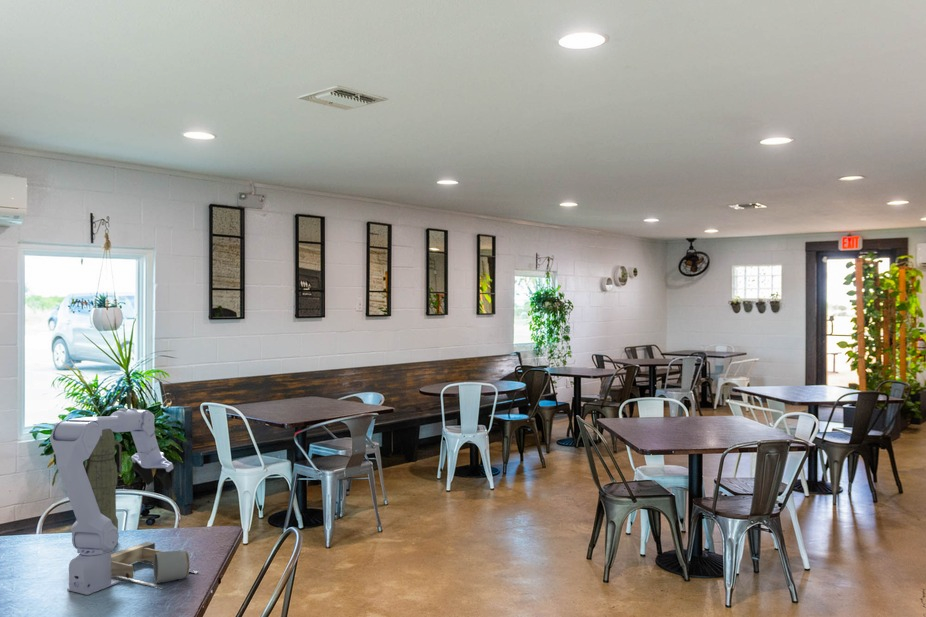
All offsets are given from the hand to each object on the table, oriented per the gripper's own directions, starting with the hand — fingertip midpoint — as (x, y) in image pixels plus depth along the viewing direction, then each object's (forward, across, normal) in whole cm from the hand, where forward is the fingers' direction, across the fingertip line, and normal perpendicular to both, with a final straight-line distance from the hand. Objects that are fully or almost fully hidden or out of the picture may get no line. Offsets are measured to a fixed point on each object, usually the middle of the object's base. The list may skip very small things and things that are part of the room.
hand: (159, 485), depth 222 cm
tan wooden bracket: (+11, -9, +19) cm, 24 cm away
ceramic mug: (+10, -22, +21) cm, 32 cm away
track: (+10, -15, +21) cm, 28 cm away
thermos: (+19, +19, +11) cm, 29 cm away
